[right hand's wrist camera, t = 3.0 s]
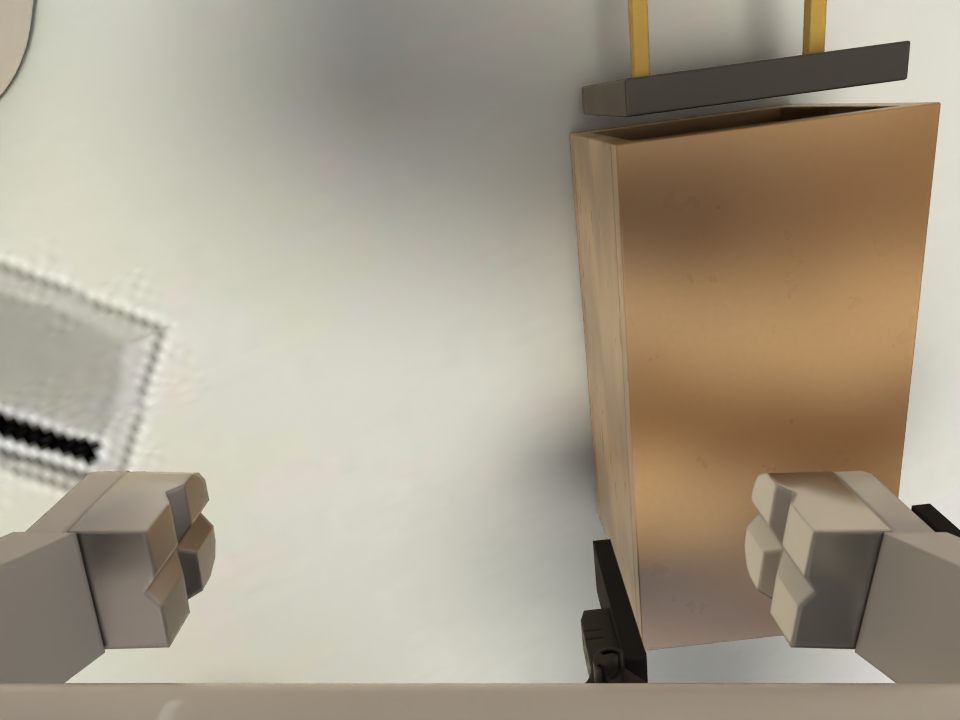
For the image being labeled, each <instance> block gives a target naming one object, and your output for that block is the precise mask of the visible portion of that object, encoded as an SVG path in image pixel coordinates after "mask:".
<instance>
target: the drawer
mask: <svg viewBox="0 0 960 720" xmlns="http://www.w3.org/2000/svg"><path fill="white" fill-rule="evenodd" d="M826 4H827V0H805V2H804V27H803V53H802V54H803V55H799V56H792V57H784V58H777V59H769V60H762V61H755V62H747V63H740V64H733V65H725V66H718V67H710V68H703V69H696V70H688V71H681V72H674V73H666V74H659V75H651V76H649V75H650V67H649V38H648V9H647V0H628V12H629V35H630V58H631V78H629V79H623V80H618V81H612V82H607V83H602V84H596V85H591V86H585V87H582V94H583V109H584V114H585V115H603V116H623V117H630V116H638V115H645V114H653V113H660V112H668V111H675V110H682V109H690V108H697V107H705V106H712V105H720V104H727V103H735V102H742V101H750V100H757V99H765V98H772V97H779V96H787V95H794V94H802V93H809V92H817V91H824V90H832V89H839V88H847V87H854V86H862V85H869V84H876V83H884V82H891V81H899V80H905V79H907V72H908V61H909V50H910V41H902V42H895V43H887V44H880V45H873V46H865V47H858V48H851V49H843V50H836V51H828V52H824V45H825V25H826ZM766 123H774V121H772V122H765V123H757V124H750V125H742V126H735V127H727V128H720V129H712V130H705V131H697V132H689V133H682V134H674V135H667V136H659V137H652V138H644V139H637V140H631V141H638V140H646V139H653V138H661V137H668V136H676V135H683V134H691V133H698V132H706V131H713V130H721V129H729V128H736V127H744V126H751V125H759V124H766Z"/></svg>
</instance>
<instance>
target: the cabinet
mask: <svg viewBox="0 0 960 720" xmlns="http://www.w3.org/2000/svg"><path fill="white" fill-rule="evenodd" d="M940 105H941V104H940V103H939V102H926V103H853V104H789V105H782V106H774V107H767V108H759V109H752V110H744V111H737V112H729V113H722V114H714V115H707V116H699V117H692V118H684V119H677V120H669V121H662V122H654V123H647V124H639V125H632V126H625V127H617V128H610V129H602V130H595V131H587V132H580V133H572V134H570V147H571V160H572V173H573V186H574V200H575V213H576V226H577V239H578V253H579V266H580V279H581V292H582V306H583V319H584V332H585V345H586V359H587V372H588V385H589V398H590V412H591V425H592V438H593V451H594V465H595V478H596V491H597V505H598V514H599V517H600V520H601V523H602V526H603V529H604V532H605V536H606V539H610V540H611V543H612V546H613V549H614V553H615V556H616V559H617V562H618V565H619V568H620V572H621V575H622V578H623V581H624V584H625V588H626V591H627V594H628V597H629V600H630V604H631V607H632V610H633V613H634V616H635V620H636V623H637V626H638V629H639V632H640V636H641V639H642V642H643V645H644V648H645V650H654V649H663V648H672V647H681V646H690V645H699V644H708V643H717V642H726V641H735V640H744V639H753V638H762V637H771V636H780V635H783V633H782V632H781V630H780V628H779V627H778V625H777V623H776V621H775V620H774V618H773V616H772V615H771V613H770V610H771V604H772V599H770V598H769V597H767V596H766V595H764V594H763V593H761V592H759V591H758V590H757V589H756V587H755V585H754V583H753V582H752V580H751V578H750V575H749V572H748V569H747V566H746V558H745V548H744V544H745V535H746V527H747V525H748V524H749V523H750V522H751V521H752V520H753V519H754V518H755V517H756V516H757V515H758V514H759V511H758V510H757V508H756V507H755V505H754V504H753V502H752V501H751V496H752V491H753V485H754V482H755V480H756V478H757V476H758V474H764V473H793V472H842V471H864V472H868V473H871V474H872V475H873V476H874V477H875V478H876V479H878V480H879V481H880V482H881V483H882V484H883V485H884V486H885V487H886V488H887V489H888V490H890V491H891V492H892V493H893V494H894V495H895V496H896V497H897V498H898V495H899V485H900V476H901V467H902V457H903V448H904V439H905V430H906V420H907V411H908V402H909V392H910V383H911V374H912V365H913V355H914V346H915V337H916V327H917V318H918V309H919V300H920V290H921V281H922V272H923V262H924V253H925V244H926V235H927V225H928V216H929V207H930V197H931V188H932V179H933V170H934V160H935V151H936V142H937V132H938V123H939V114H940ZM772 121H774V123H766V124H759V125H751V126H744V127H736V128H729V129H721V130H713V131H706V132H698V133H691V134H683V135H676V136H668V137H661V138H653V139H646V140H638V141H631V140H637V139H644V138H652V137H659V136H667V135H674V134H682V133H689V132H697V131H705V130H712V129H720V128H727V127H735V126H742V125H750V124H757V123H765V122H772Z"/></svg>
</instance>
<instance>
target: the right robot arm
mask: <svg viewBox="0 0 960 720" xmlns="http://www.w3.org/2000/svg"><path fill="white" fill-rule="evenodd" d="M33 1H34V0H0V95H1V94H2V93H3V92H4V91H5V89H6V88H7V86H8V85H9V84H10V82H11V80H12V79H13V77H14V75H15V73H16V72H17V69H18V67H19V65H20V63H21V60H22V58H23V55H24V52H25V49H26V45H27V41H28V37H29V32H30V26H31V18H32V10H33ZM208 501H209V497H208V492H207V487H206V482H205V479H204V478H203V477H202V476H201V475H200V474H199V473H184V472H129V471H102V472H92V473H89V474H88V475H87V476H86V477H85V478H84V479H83V480H82V481H81V482H79V483H78V484H77V485H76V486H75V487H74V488H73V489H72V490H71V491H70V492H68V493H67V494H66V495H65V496H64V497H63V498H62V499H61V500H60V501H59V502H57V503H56V504H55V505H54V506H53V507H52V508H51V509H50V510H49V511H48V512H46V513H45V514H44V515H43V516H42V517H41V518H40V519H39V520H38V521H37V522H35V523H34V524H33V525H32V526H31V527H30V528H29V529H28V530H27V531H26V532H13V533H10V534H8V535H5V536H3V537H1V538H0V720H960V538H959V537H957V536H955V535H952V534H950V533H947V532H934V531H933V530H932V529H931V528H930V527H929V526H928V525H927V524H926V523H925V522H924V521H922V520H921V519H920V518H919V517H918V516H917V515H916V514H915V513H914V512H913V511H911V510H910V509H909V508H908V507H907V506H906V505H905V504H904V503H903V502H902V501H901V500H899V499H898V498H897V497H896V496H895V495H894V494H893V493H892V492H891V491H890V490H888V489H887V488H886V487H885V486H884V485H883V484H882V483H881V482H880V481H879V480H878V479H876V478H875V477H874V476H873V475H872V474H871V473H868V472H864V471H842V472H793V473H764V474H758V476H757V478H756V480H755V482H754V485H753V491H752V496H751V501H752V502H753V504H754V505H755V507H756V508H757V510H758V511H759V514H758V515H757V516H756V517H755V518H754V519H753V520H752V521H751V522H750V523H749V524H748V525H747V527H746V535H745V544H744V548H745V558H746V566H747V569H748V572H749V575H750V578H751V580H752V582H753V583H754V585H755V587H756V589H757V590H758V591H759V592H761V593H763V594H764V595H766V596H767V597H769V598H770V599H772V604H771V610H770V613H771V615H772V616H773V618H774V620H775V621H776V623H777V625H778V627H779V628H780V630H781V632H782V633H783V635H784V637H785V638H786V640H787V642H788V643H789V645H790V647H796V648H833V649H855V652H856V653H857V654H858V655H860V656H861V657H862V658H864V659H865V660H866V661H868V662H869V663H870V664H872V665H873V666H874V667H875V668H877V669H878V670H879V671H881V672H882V673H883V674H885V675H886V676H887V677H889V678H890V679H891V680H893V681H894V682H895V683H65V682H66V681H67V680H69V679H70V678H71V677H73V676H74V675H75V674H77V673H78V672H79V671H81V670H82V669H83V668H85V667H86V666H87V665H89V664H90V663H91V662H93V661H94V660H95V659H97V658H98V657H99V656H101V655H102V654H103V653H105V649H126V648H162V647H170V645H171V644H172V642H173V640H174V639H175V637H176V635H177V633H178V632H179V630H180V628H181V627H182V625H183V623H184V622H185V620H186V618H187V616H188V615H189V613H190V610H189V604H188V599H190V598H191V597H193V596H194V595H196V594H198V593H199V592H201V591H202V590H203V589H204V587H205V585H206V583H207V581H208V580H209V578H210V576H211V572H212V568H213V564H214V560H215V534H214V527H213V525H212V524H211V523H210V522H209V521H208V520H207V519H206V518H205V517H204V516H203V515H202V514H201V511H202V510H203V508H204V507H205V505H206V504H207V502H208Z"/></svg>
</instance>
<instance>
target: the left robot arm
mask: <svg viewBox="0 0 960 720" xmlns="http://www.w3.org/2000/svg"><path fill="white" fill-rule="evenodd" d="M911 511H913V512H914V513H915V514H916V515H917V516H918V517H919V518H920V519H921V520H922V521H924V522H925V523H926V524H927V525H928V526H929V527H930V528H931V529H932V530H933V531H934V532H947V533H950V534H952V535H955V536H957V537H959V538H960V530H959V529H958V528H957V527H956V526H955V525H953V524H952V523H951V522H950V521H949V520H948V519H947V518H946V517H944V516H943V515H942V514H941V513H940V512H939V511H938V510H936V509H935V508H934V507H933V506H932V505H931V504H922V505H913V506H912V509H911ZM593 547H594V560H595V573H596V586H597V593H598V597H599V601H600V605H601V609H595V610H586V611H584V612H583V615H582V618H581V628H582V639H583V649H584V654H585V659H586V664H587V669H588V674H589V679H588V681H587V682H586V683H648V677H647V656H646V652H645V648H644V645H643V642H642V639H641V636H640V632H639V629H638V626H637V623H636V620H635V616H634V613H633V610H632V607H631V604H630V600H629V597H628V594H627V591H626V588H625V584H624V581H623V578H622V575H621V572H620V568H619V565H618V562H617V559H616V556H615V553H614V549H613V546H612V543H611V540H610V539H606V540H597V541H593Z"/></svg>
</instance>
